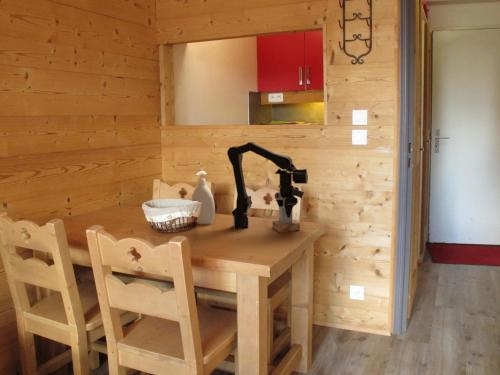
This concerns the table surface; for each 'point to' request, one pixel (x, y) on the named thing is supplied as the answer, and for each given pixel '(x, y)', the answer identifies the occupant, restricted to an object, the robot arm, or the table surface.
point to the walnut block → (286, 226)
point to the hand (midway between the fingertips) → (285, 215)
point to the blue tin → (284, 216)
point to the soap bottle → (204, 200)
